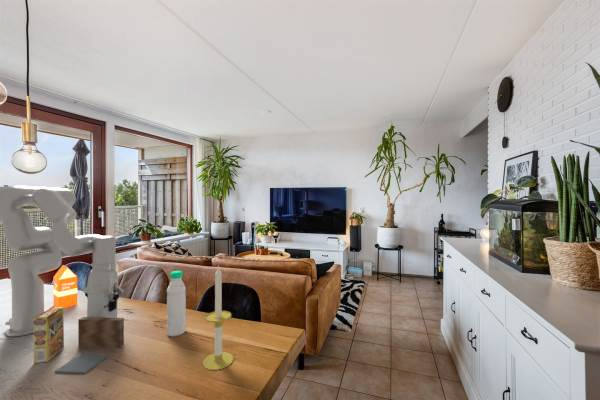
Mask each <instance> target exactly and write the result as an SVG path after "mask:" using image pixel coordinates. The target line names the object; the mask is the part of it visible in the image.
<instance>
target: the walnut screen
mask: <svg viewBox="0 0 600 400" xmlns="http://www.w3.org/2000/svg"><path fill="white" fill-rule="evenodd" d="M77 323H78V332H77V333H78V337H77V338H78V342H77V343H78V344H77V345H78V347H88V348H89V347H90V348H91V347H92V348H93V347H94V348H114V347H115V348H116V349H117V348H121V347H123V346H124V345H125V339H124V338H125V337H124V336H125V335H124V334H125V332H124V331H125V325H124V323H125V317H117V318H102V317H87V316H82V317H79V318H78V322H77Z"/></svg>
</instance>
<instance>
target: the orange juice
mask: <svg viewBox="0 0 600 400" xmlns="http://www.w3.org/2000/svg"><path fill="white" fill-rule="evenodd" d="M52 278H53V289H52V290H53V291H52V293H53V294H52V295H53V306H54V307H63V309H65V308H70V307H74V306H77V305H78V275H76V274H75V273H74V272H73V271H72V270H71V269H70V268H69V267H68V266H66V265H64V264H62V265H61V267H59V269H58V270H57V272H56V273H55V275H54V276H53V277H52ZM73 305H74V306H73ZM69 306H70V307H69Z"/></svg>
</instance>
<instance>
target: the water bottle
mask: <svg viewBox="0 0 600 400" xmlns="http://www.w3.org/2000/svg"><path fill="white" fill-rule="evenodd" d="M183 274H184V273H183V270H174V271H171V272H170V273H169V279H170V282H169V285H168V287H167V288H166V294H167V296H166V314H167V317H166V324H167V325H166V326H167V327H166V334H167V336H169V337H178V336H181V335H183V334H185V332H186V330H187V325H186V324H187V323H186V318H187V317H186V311H187V310H186V309H187V307H186V306H187V300H186V298H187V297H186V291H187V289H186V288H187V287H186V286H185V284H184V281H183V280H182V278H183Z"/></svg>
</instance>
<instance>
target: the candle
mask: <svg viewBox="0 0 600 400" xmlns="http://www.w3.org/2000/svg"><path fill="white" fill-rule="evenodd" d="M222 273H223V272H222V271H221V269H220V266H219V264H218V265H217V268H216V271H215V273H214V277H215V278H214V280H215V281H214V282H215V283H214V296H215V298H214V311H211V312H209V313H207V314H206V315H205V316H204V320H205V321H206V322H208V323H214V353H212V354H209V355H207V356H206V357H205V358H204V359H203V361H202V367H203V366H204V367H203V368H204V369H205V368H206V369H205V370H208V371H214V370H216V371H220V370H219V369H222V370H224V369H226V368H228V367H229V366H231V365H232V364H233V362H234V356H233V355H232V354H231V353H230V352H225V351H223V322H225V321H227V320H230V318H231V317H232V313H231V312H230V311H227V310H222V309H223V308H222V305H223V304H222V303H223V302H222V301H223V300H222V297H223V296H222V295H223V294H222V293H223V292H222V290H223V289H222V286H223V285H222V284H223V283H222V281H223V280H222V276H223V275H222ZM231 363H232V364H231ZM230 364H231V365H230ZM227 366H228V367H227ZM225 367H226V368H225ZM223 368H224V369H223Z"/></svg>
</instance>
